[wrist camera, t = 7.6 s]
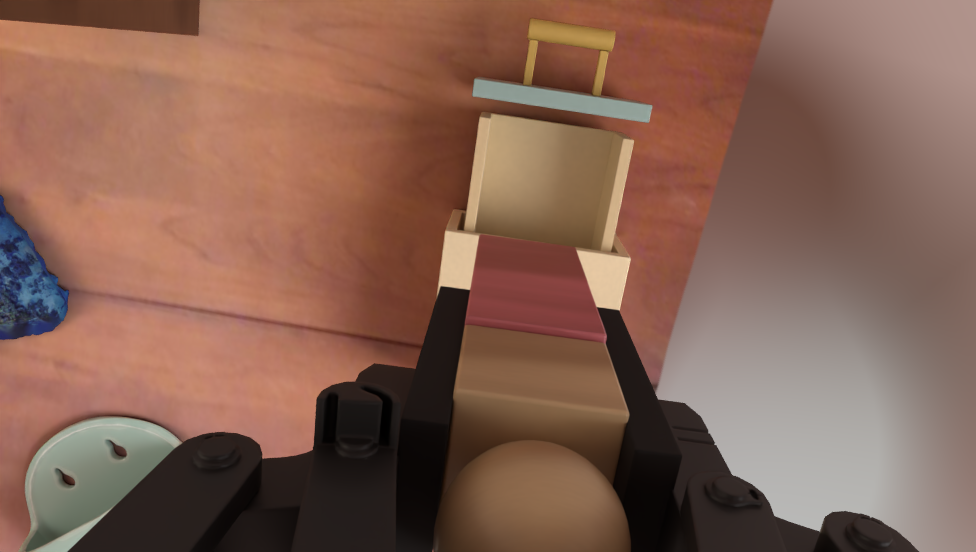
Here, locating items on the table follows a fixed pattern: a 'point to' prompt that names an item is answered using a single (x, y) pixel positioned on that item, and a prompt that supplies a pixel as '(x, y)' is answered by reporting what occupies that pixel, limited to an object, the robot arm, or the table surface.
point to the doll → (532, 411)
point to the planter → (87, 476)
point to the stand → (109, 14)
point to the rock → (26, 285)
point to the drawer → (551, 154)
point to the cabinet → (599, 266)
